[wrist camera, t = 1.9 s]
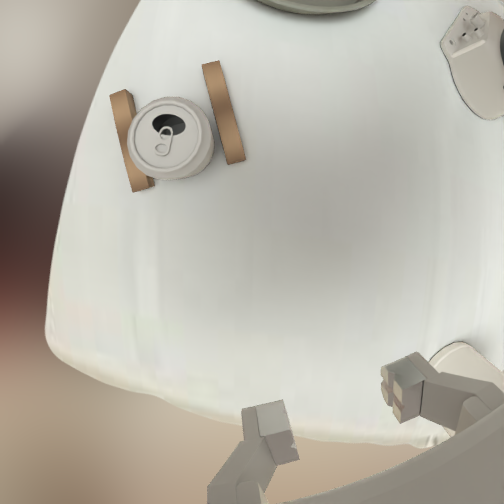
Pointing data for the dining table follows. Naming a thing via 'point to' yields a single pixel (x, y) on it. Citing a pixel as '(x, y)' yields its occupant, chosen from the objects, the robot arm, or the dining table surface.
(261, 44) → the dining table surface
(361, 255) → the dining table surface
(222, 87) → the parallel wooden bars
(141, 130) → the can
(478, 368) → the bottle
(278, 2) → the cake pan
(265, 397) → the dining table surface
